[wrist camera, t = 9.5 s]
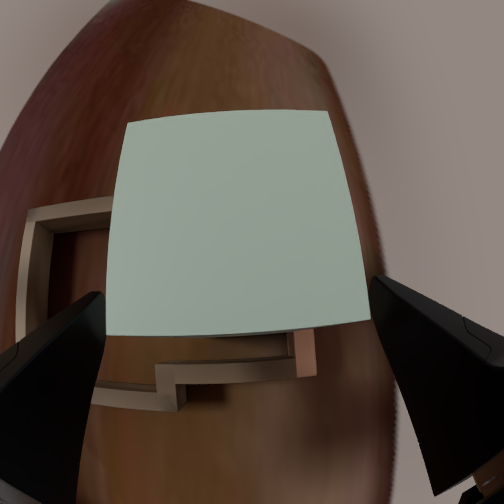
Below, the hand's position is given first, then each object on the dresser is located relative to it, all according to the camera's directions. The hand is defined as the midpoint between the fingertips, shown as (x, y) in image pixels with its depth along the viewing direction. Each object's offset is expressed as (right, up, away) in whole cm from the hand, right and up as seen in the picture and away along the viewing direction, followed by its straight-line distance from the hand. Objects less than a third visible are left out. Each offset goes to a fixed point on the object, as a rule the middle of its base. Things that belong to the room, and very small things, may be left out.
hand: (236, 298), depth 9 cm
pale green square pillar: (0, -1, +8) cm, 8 cm away
